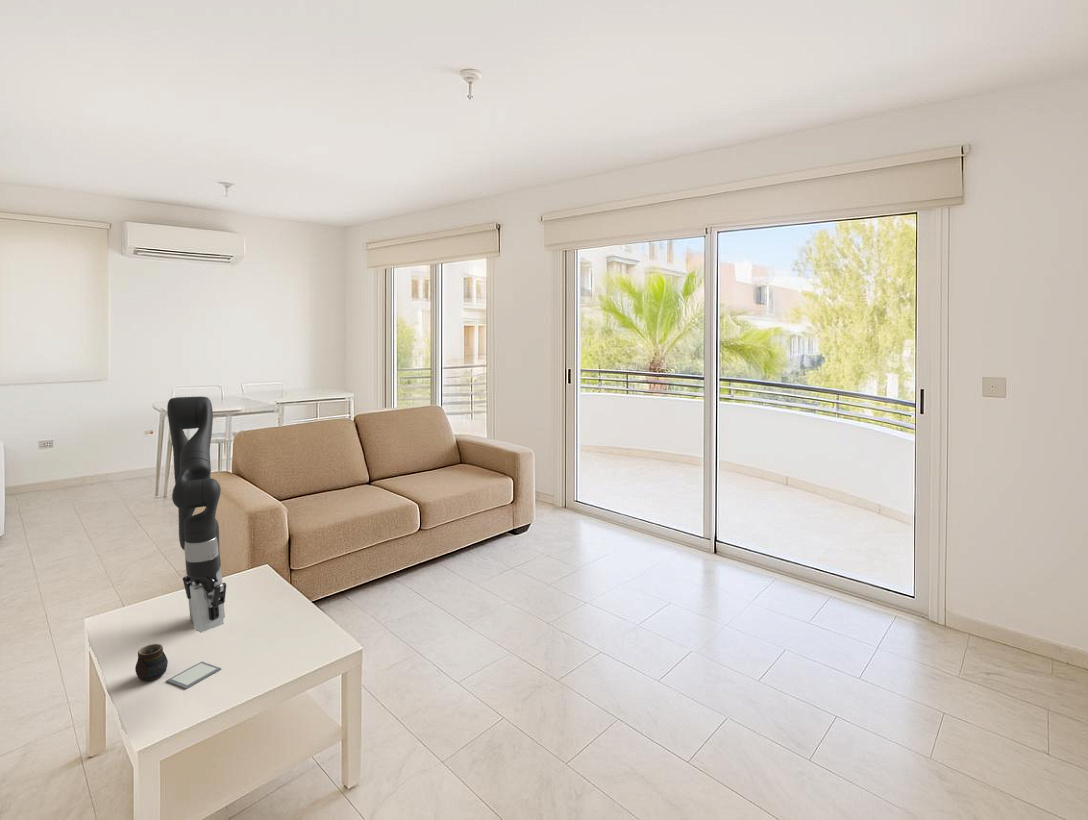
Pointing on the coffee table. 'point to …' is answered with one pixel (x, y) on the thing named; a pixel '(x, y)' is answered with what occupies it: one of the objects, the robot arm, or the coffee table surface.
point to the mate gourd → (151, 662)
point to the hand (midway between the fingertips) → (207, 616)
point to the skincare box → (203, 610)
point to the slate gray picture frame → (193, 675)
